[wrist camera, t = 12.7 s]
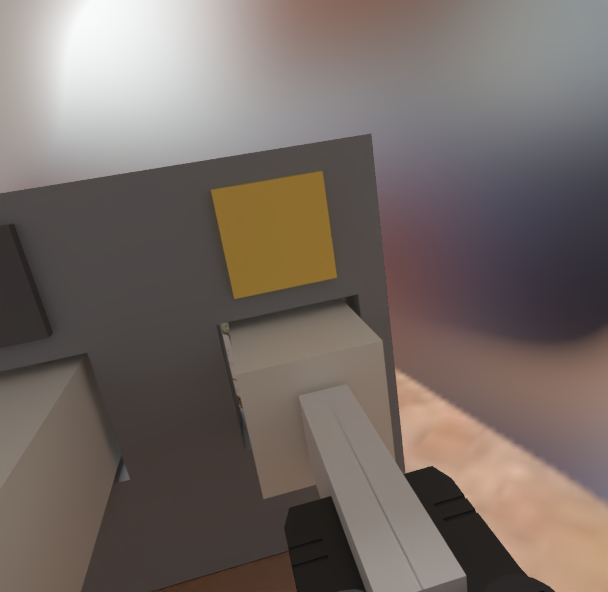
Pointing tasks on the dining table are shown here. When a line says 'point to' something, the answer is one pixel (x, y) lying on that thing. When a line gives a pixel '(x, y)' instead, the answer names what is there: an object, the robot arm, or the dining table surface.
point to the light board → (188, 331)
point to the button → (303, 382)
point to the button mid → (52, 473)
